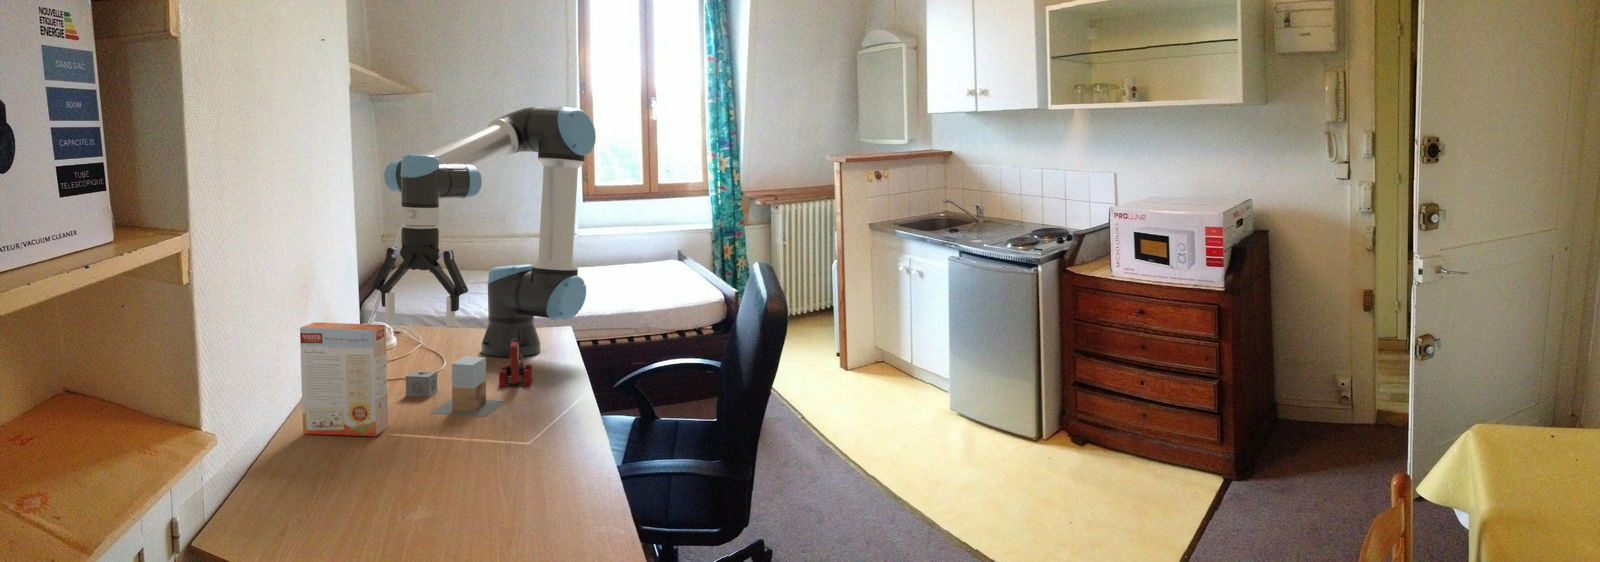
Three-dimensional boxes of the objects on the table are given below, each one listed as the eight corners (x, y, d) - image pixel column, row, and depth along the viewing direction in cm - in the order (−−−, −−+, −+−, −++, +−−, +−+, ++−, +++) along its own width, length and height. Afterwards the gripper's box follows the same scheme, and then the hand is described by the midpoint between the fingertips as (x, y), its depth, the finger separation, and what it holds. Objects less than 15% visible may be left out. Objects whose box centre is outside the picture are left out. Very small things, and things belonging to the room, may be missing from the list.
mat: (453, 399, 213) (453, 397, 213) (507, 403, 213) (507, 401, 212) (429, 414, 201) (429, 412, 201) (486, 418, 201) (486, 416, 201)
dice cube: (437, 393, 218) (437, 371, 217) (429, 399, 213) (428, 377, 212) (414, 392, 218) (414, 370, 217) (406, 398, 213) (405, 376, 212)
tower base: (466, 401, 211) (465, 379, 210) (485, 403, 210) (485, 380, 210) (452, 410, 204) (452, 387, 203) (472, 412, 203) (472, 388, 203)
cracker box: (389, 428, 191) (387, 323, 188) (375, 438, 185) (373, 329, 182) (317, 425, 191) (314, 320, 188) (301, 434, 185) (298, 326, 182)
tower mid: (465, 379, 210) (465, 356, 209) (485, 380, 210) (485, 357, 209) (452, 387, 203) (451, 363, 202) (472, 388, 203) (472, 365, 202)
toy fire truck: (532, 377, 235) (532, 335, 234) (529, 390, 223) (530, 346, 222) (502, 377, 234) (502, 335, 232) (498, 391, 222) (498, 346, 220)
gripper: (354, 224, 207) (356, 323, 210) (469, 231, 206) (469, 330, 209) (372, 222, 215) (373, 317, 218) (483, 228, 213) (483, 324, 216)
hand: (420, 324), depth 213 cm, fingers open, 13 cm apart
